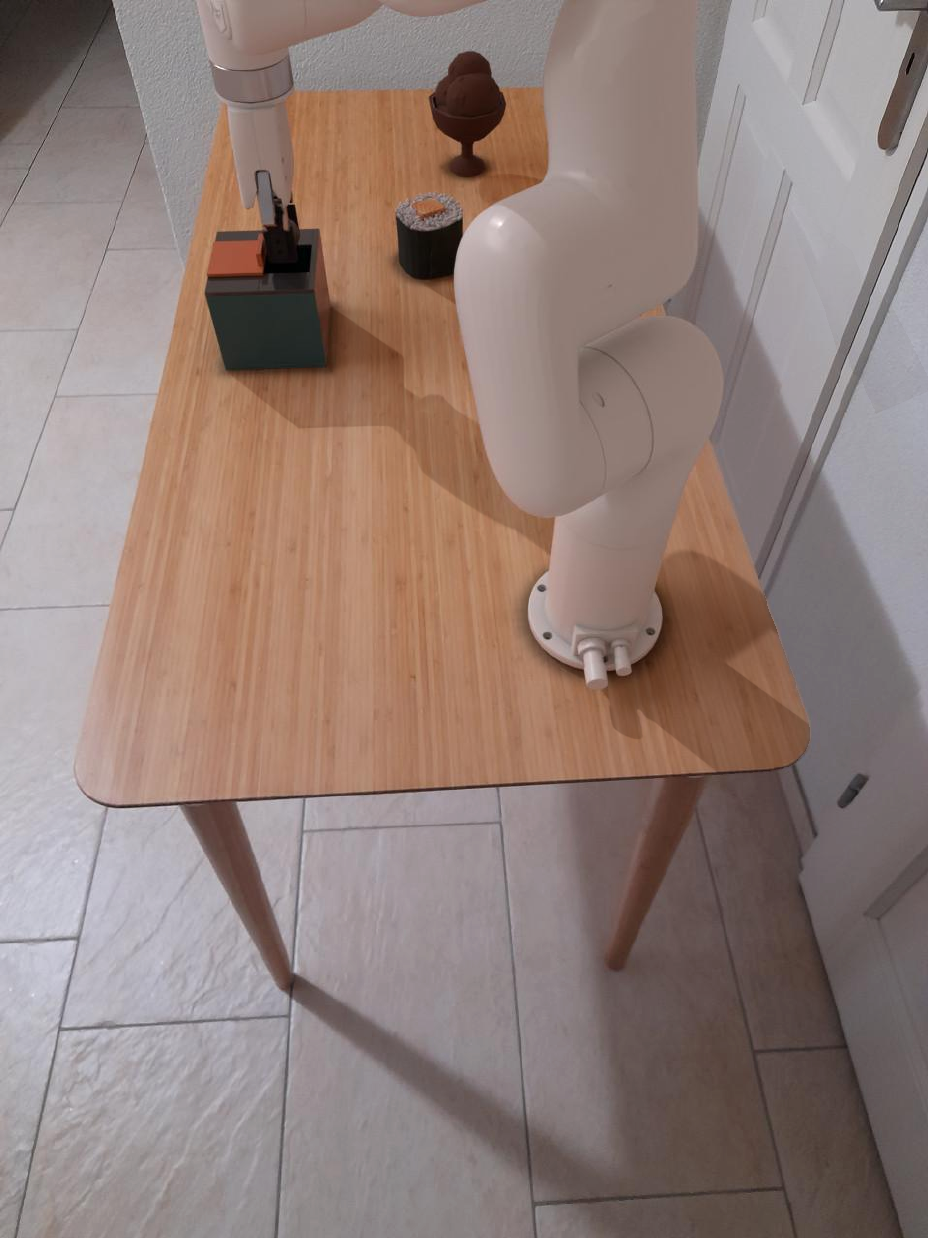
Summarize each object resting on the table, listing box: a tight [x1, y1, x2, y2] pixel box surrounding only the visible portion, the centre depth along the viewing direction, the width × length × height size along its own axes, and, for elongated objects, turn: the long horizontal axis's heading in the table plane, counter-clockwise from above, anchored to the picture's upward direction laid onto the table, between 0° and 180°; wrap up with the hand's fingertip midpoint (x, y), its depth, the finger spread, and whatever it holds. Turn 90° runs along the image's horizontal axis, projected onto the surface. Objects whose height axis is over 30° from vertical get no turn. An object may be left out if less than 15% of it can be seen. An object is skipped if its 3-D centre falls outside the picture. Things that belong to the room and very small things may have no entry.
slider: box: [206, 234, 267, 277], centre depth 99 cm, size 6×6×2 cm
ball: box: [263, 215, 299, 246], centre depth 98 cm, size 4×4×4 cm
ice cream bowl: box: [428, 50, 507, 178], centre depth 125 cm, size 11×11×15 cm
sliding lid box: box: [203, 228, 332, 371], centre depth 104 cm, size 12×12×10 cm
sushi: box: [393, 191, 464, 281], centre depth 114 cm, size 8×8×8 cm
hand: (284, 248), depth 99 cm, fingers closed on ball, 3 cm apart
